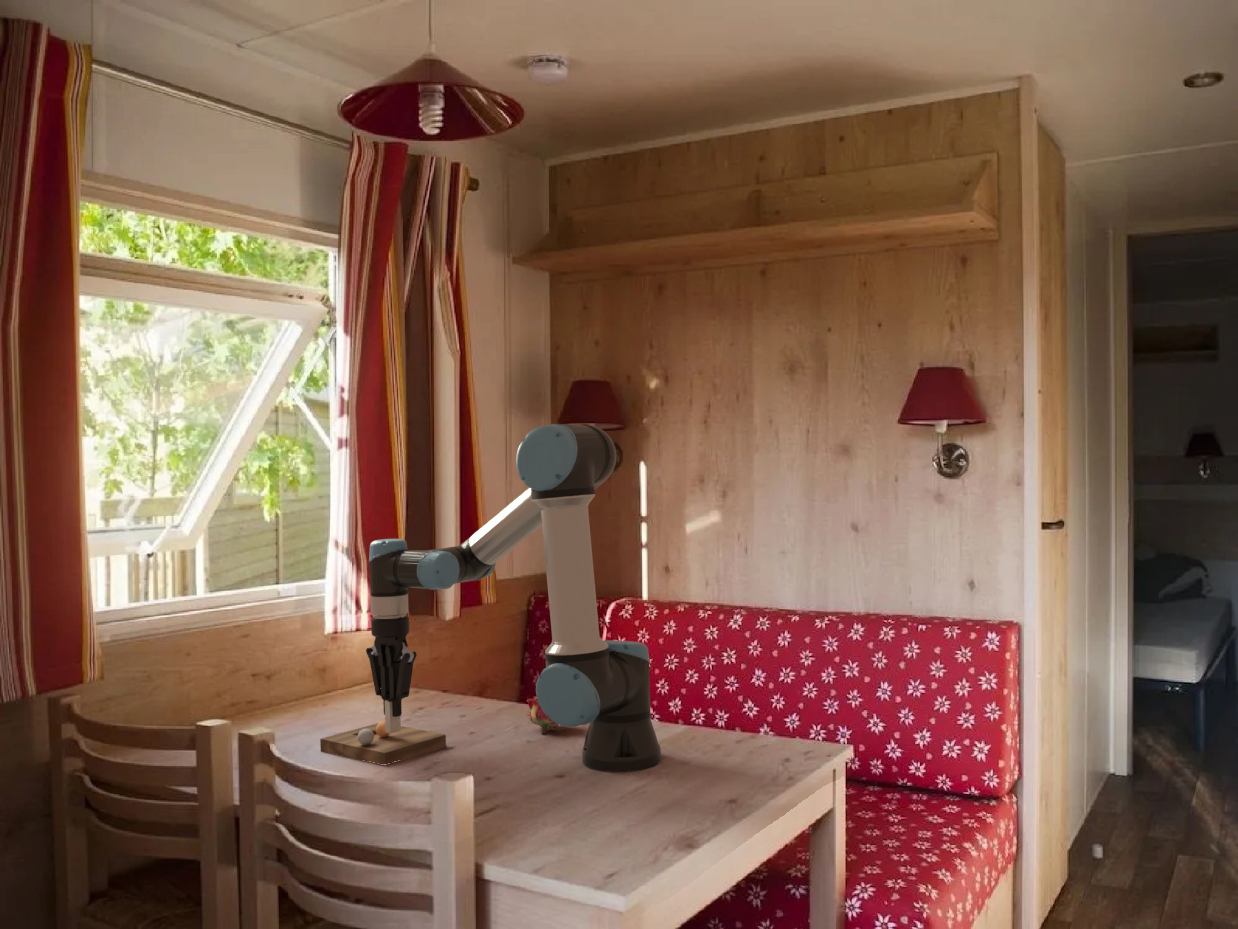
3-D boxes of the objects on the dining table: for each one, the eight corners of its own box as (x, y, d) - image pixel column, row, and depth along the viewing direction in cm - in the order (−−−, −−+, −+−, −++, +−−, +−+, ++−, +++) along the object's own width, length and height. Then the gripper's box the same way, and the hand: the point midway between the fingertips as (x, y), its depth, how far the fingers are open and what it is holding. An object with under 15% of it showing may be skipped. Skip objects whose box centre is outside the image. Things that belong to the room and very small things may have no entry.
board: (446, 747, 227) (445, 734, 226) (385, 765, 214) (384, 753, 214) (381, 733, 239) (381, 722, 239) (320, 751, 226) (320, 738, 226)
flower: (564, 730, 231) (570, 694, 235) (520, 722, 231) (528, 686, 235) (562, 746, 239) (568, 711, 243) (520, 738, 239) (527, 703, 243)
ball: (386, 717, 228) (383, 731, 229) (374, 720, 225) (371, 734, 226) (396, 724, 226) (393, 738, 227) (384, 727, 224) (381, 741, 224)
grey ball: (377, 744, 221) (377, 728, 221) (364, 747, 218) (364, 731, 218) (367, 742, 223) (366, 726, 223) (354, 745, 220) (353, 729, 220)
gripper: (425, 615, 223) (429, 732, 223) (383, 611, 231) (386, 723, 231) (397, 620, 217) (400, 740, 217) (354, 615, 225) (357, 731, 225)
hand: (393, 731), depth 224 cm, fingers closed
